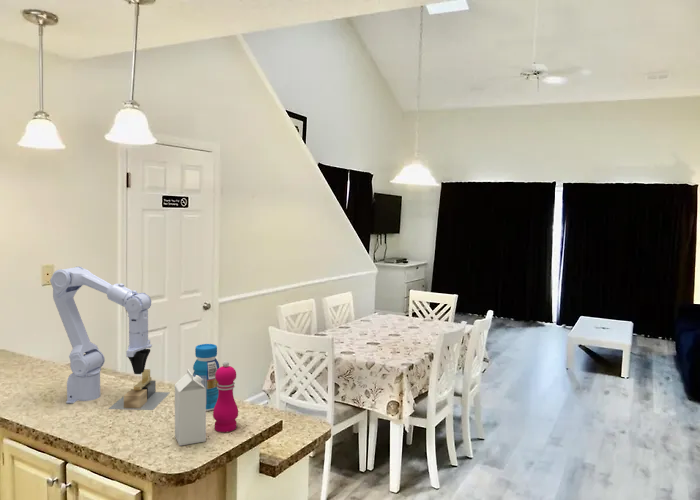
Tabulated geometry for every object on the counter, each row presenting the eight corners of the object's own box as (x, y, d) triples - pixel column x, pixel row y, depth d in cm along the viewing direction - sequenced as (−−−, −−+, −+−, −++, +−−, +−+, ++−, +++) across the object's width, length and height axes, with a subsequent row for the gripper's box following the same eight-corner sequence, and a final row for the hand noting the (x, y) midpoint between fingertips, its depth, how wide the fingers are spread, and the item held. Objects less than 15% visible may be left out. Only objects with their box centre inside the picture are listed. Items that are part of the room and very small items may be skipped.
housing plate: (108, 412, 169) (107, 396, 169) (129, 394, 185) (129, 379, 184) (152, 413, 169) (152, 397, 168) (170, 395, 185) (170, 380, 184)
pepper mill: (225, 435, 154) (225, 366, 152) (207, 429, 158) (207, 361, 156) (243, 426, 160) (243, 360, 158) (225, 421, 164) (225, 356, 162)
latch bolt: (133, 390, 173) (133, 377, 173) (145, 380, 183) (145, 368, 183) (139, 390, 173) (139, 377, 173) (151, 380, 183) (151, 368, 183)
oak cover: (123, 408, 170) (123, 395, 170) (131, 401, 176) (131, 389, 176) (139, 408, 170) (139, 395, 170) (147, 401, 176) (146, 389, 175)
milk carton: (179, 446, 146) (179, 377, 145) (174, 436, 152) (174, 370, 151) (206, 441, 149) (206, 374, 148) (200, 432, 156) (200, 367, 154)
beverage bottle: (190, 412, 170) (190, 349, 169) (195, 402, 179) (195, 342, 177) (217, 411, 171) (217, 349, 169) (221, 402, 179) (221, 342, 178)
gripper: (142, 337, 167) (142, 380, 168) (159, 326, 181) (159, 366, 182) (119, 336, 167) (120, 379, 168) (138, 326, 181) (138, 366, 182)
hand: (139, 373), depth 175 cm, fingers closed
